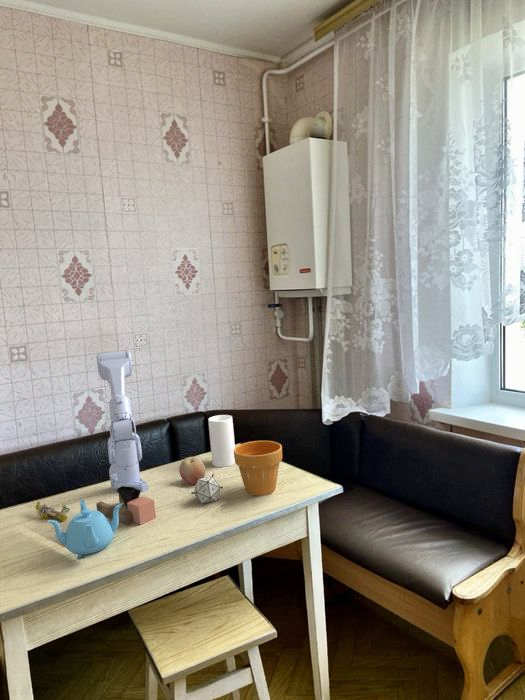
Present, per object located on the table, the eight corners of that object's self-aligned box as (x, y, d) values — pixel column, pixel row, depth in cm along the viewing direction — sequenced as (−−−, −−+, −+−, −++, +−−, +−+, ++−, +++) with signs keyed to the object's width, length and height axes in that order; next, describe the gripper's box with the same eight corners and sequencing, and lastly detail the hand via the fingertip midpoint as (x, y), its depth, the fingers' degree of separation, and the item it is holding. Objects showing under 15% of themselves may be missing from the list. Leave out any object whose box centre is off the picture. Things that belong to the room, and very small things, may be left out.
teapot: (93, 567, 122) (88, 525, 121) (49, 559, 127) (43, 519, 126) (128, 540, 134) (123, 501, 133) (86, 534, 139) (81, 497, 138)
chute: (97, 517, 149) (96, 503, 149) (124, 505, 156) (122, 492, 155) (128, 529, 140) (126, 514, 140) (154, 516, 147) (153, 502, 146)
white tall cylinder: (209, 467, 182) (205, 421, 180) (215, 459, 190) (211, 415, 188) (233, 466, 181) (229, 420, 179) (238, 458, 189) (234, 414, 187)
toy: (52, 501, 159) (78, 510, 148) (44, 519, 156) (69, 528, 146) (37, 495, 155) (62, 504, 145) (28, 513, 153) (53, 523, 143)
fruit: (182, 489, 165) (179, 464, 164) (179, 480, 172) (177, 456, 171) (207, 484, 166) (205, 460, 165) (204, 476, 174) (202, 452, 173)
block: (129, 520, 143) (127, 502, 142) (144, 513, 146) (142, 496, 146) (140, 525, 139) (138, 506, 139) (155, 517, 143) (153, 499, 142)
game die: (213, 517, 151) (216, 498, 145) (186, 507, 153) (187, 488, 146) (225, 492, 158) (228, 472, 151) (198, 482, 159) (200, 462, 152)
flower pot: (283, 479, 166) (280, 438, 165) (286, 497, 152) (283, 453, 150) (237, 483, 166) (234, 442, 164) (237, 501, 152) (233, 457, 150)
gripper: (98, 463, 145) (104, 511, 147) (130, 473, 136) (136, 523, 138) (120, 456, 151) (125, 502, 152) (152, 464, 141) (158, 513, 143)
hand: (132, 511), depth 145 cm, fingers closed
